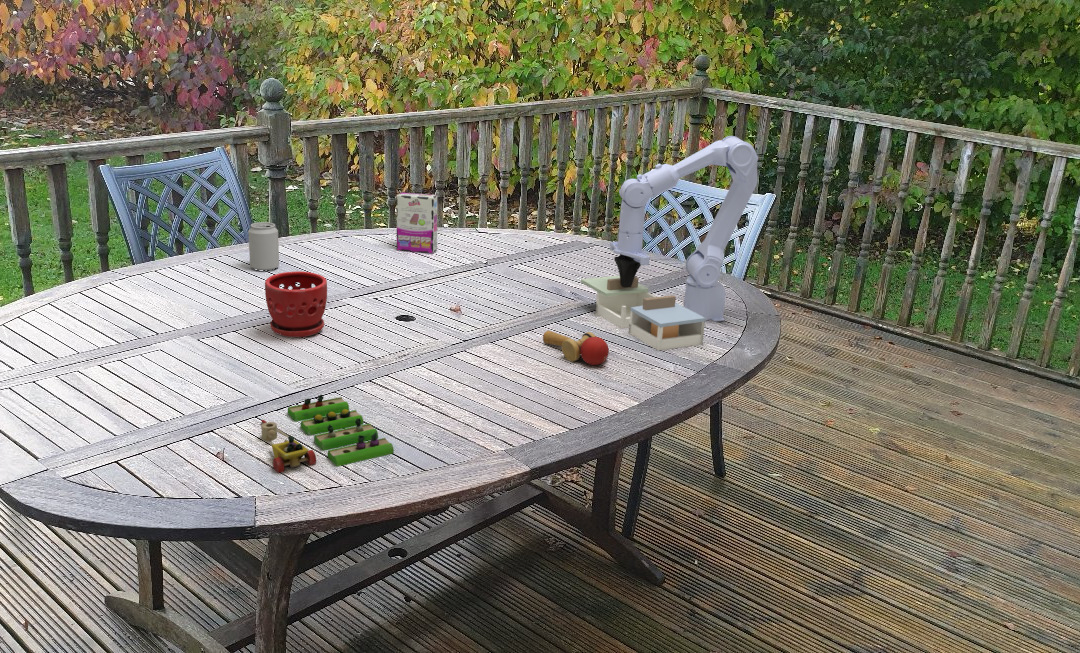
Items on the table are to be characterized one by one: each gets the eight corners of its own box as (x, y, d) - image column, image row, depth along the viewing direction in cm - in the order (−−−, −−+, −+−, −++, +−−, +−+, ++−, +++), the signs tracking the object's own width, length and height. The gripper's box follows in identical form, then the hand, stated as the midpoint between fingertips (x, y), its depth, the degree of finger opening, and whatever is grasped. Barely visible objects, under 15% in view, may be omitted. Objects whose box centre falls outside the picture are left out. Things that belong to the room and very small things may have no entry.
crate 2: (671, 330, 228) (674, 305, 226) (702, 347, 218) (705, 321, 216) (628, 335, 222) (630, 310, 221) (657, 353, 213) (660, 327, 211)
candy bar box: (437, 249, 285) (438, 194, 280) (433, 254, 280) (434, 198, 275) (400, 246, 287) (401, 191, 281) (395, 250, 282) (395, 194, 276)
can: (275, 272, 255) (273, 228, 251) (246, 271, 255) (244, 226, 251) (282, 265, 262) (281, 221, 258) (254, 263, 262) (252, 220, 258)
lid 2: (674, 305, 226) (675, 292, 225) (705, 321, 216) (706, 307, 215) (630, 310, 220) (631, 297, 219) (660, 327, 211) (661, 313, 209)
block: (666, 336, 221) (667, 318, 219) (677, 343, 217) (679, 324, 216) (649, 338, 219) (651, 320, 217) (660, 345, 215) (662, 326, 214)
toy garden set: (394, 455, 162) (395, 431, 160) (283, 482, 152) (282, 456, 150) (340, 405, 180) (340, 382, 178) (237, 425, 169) (235, 401, 168)
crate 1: (637, 310, 240) (639, 287, 238) (664, 326, 230) (666, 301, 228) (595, 315, 235) (597, 292, 233) (621, 331, 225) (623, 307, 223)
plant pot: (255, 330, 214) (252, 277, 210) (305, 317, 223) (304, 267, 219) (288, 346, 205) (287, 292, 201) (340, 332, 215) (339, 280, 211)
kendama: (532, 353, 213) (589, 367, 200) (534, 324, 212) (592, 337, 199) (558, 352, 218) (615, 366, 205) (561, 324, 217) (618, 337, 204)
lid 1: (622, 278, 245) (623, 266, 244) (648, 291, 235) (649, 279, 234) (580, 282, 240) (581, 269, 238) (605, 296, 230) (606, 283, 228)
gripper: (600, 225, 232) (596, 279, 236) (633, 239, 220) (628, 296, 224) (625, 223, 235) (621, 277, 240) (659, 237, 223) (653, 294, 228)
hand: (626, 286), depth 232 cm, fingers closed
